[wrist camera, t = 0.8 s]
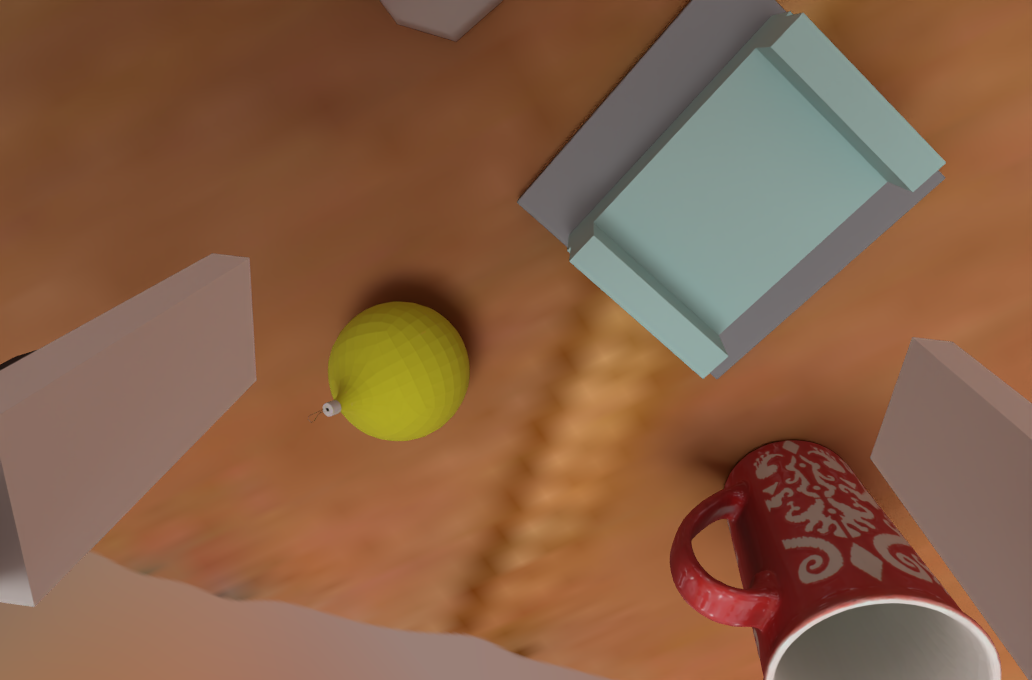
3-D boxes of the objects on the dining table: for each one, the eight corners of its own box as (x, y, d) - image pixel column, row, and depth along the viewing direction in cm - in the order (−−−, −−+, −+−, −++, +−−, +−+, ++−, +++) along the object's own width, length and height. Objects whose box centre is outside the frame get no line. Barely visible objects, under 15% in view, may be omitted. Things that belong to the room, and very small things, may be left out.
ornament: (332, 309, 38) (250, 388, 29) (446, 264, 37) (398, 333, 28) (388, 416, 41) (329, 521, 31) (498, 379, 39) (470, 478, 30)
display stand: (518, 198, 35) (504, 227, 29) (727, -42, 30) (761, -67, 24) (713, 371, 37) (737, 430, 31) (935, 174, 33) (1013, 200, 27)
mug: (904, 457, 38) (1056, 648, 26) (821, 576, 42) (920, 795, 29) (693, 377, 38) (743, 534, 25) (626, 505, 41) (642, 698, 29)
